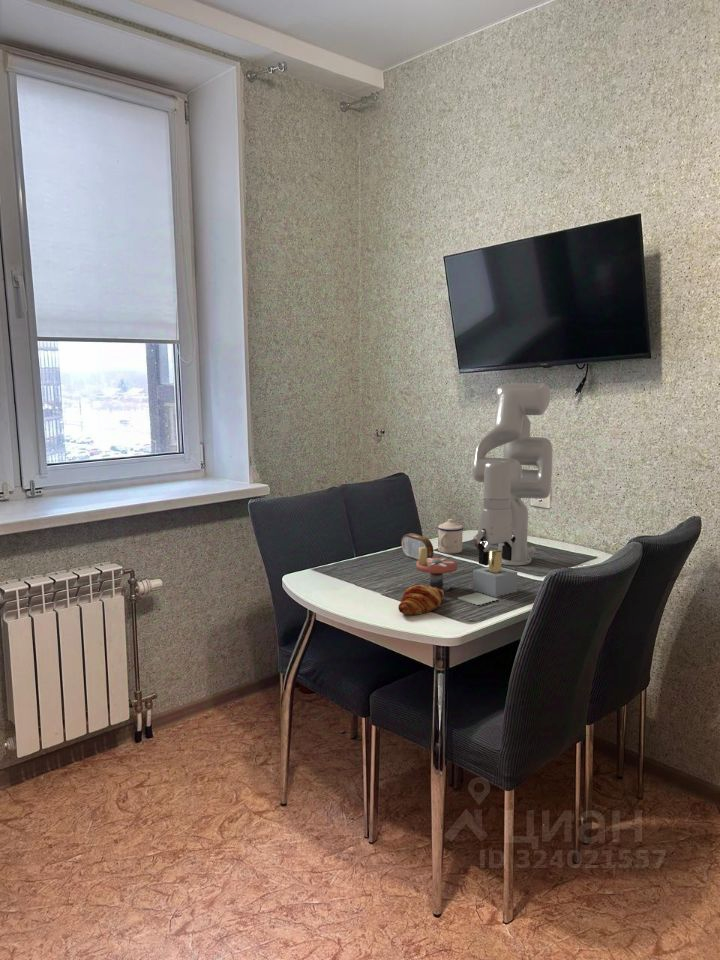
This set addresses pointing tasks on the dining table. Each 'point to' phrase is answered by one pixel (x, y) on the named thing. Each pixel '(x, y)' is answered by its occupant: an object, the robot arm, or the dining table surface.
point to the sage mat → (477, 598)
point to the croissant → (420, 599)
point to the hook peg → (495, 561)
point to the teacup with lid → (450, 537)
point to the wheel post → (438, 582)
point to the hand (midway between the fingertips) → (495, 562)
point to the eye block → (494, 581)
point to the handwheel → (434, 563)
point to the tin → (416, 545)
